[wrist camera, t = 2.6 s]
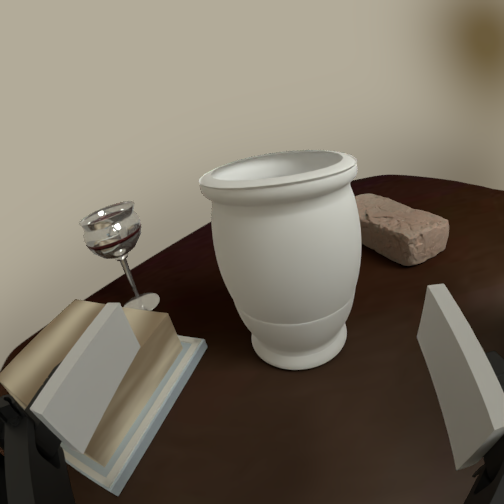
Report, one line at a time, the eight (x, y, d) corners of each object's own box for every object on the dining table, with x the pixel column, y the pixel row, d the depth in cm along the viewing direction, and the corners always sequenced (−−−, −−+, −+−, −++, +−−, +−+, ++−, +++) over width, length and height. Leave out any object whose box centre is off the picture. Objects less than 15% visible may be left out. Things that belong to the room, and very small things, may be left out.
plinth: (183, 348, 25) (168, 313, 23) (104, 467, 14) (71, 439, 12) (90, 327, 30) (75, 299, 28) (20, 405, 19) (-4, 377, 17)
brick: (330, 229, 45) (327, 200, 43) (370, 215, 47) (369, 188, 45) (408, 275, 31) (412, 238, 28) (448, 252, 33) (452, 219, 30)
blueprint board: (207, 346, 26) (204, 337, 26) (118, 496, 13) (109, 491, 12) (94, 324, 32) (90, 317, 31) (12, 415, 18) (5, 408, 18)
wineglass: (172, 285, 37) (143, 196, 32) (158, 319, 31) (119, 217, 26) (127, 291, 38) (95, 208, 32) (108, 323, 32) (67, 230, 26)
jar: (382, 338, 23) (390, 155, 16) (282, 405, 19) (241, 197, 13) (309, 288, 32) (292, 145, 25) (222, 330, 28) (179, 174, 21)
